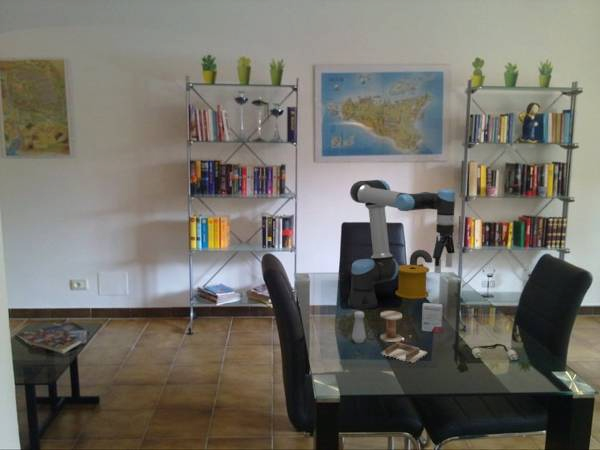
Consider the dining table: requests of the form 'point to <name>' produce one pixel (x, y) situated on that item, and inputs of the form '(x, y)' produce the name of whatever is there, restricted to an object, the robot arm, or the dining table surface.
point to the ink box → (432, 317)
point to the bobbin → (391, 326)
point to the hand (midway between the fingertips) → (443, 269)
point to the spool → (412, 281)
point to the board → (404, 352)
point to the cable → (510, 353)
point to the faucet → (418, 254)
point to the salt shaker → (359, 328)
